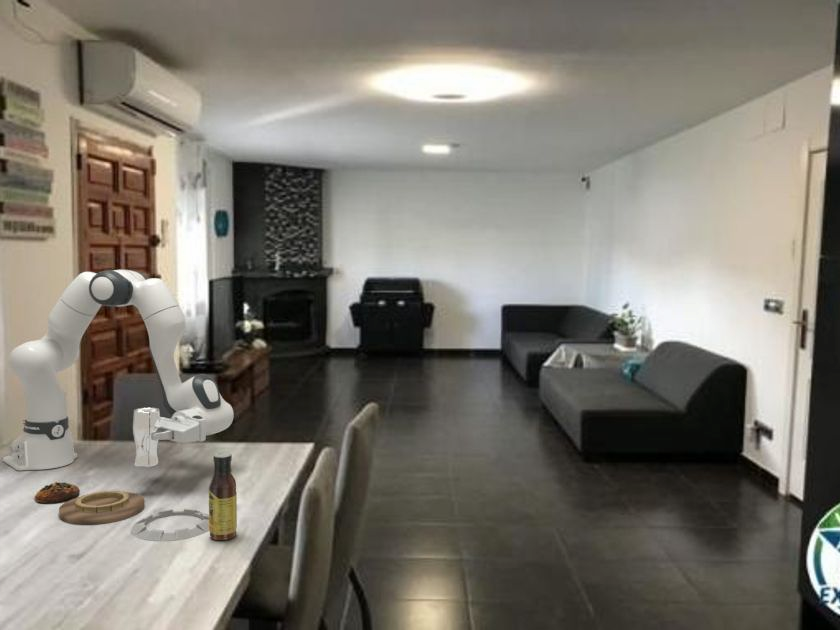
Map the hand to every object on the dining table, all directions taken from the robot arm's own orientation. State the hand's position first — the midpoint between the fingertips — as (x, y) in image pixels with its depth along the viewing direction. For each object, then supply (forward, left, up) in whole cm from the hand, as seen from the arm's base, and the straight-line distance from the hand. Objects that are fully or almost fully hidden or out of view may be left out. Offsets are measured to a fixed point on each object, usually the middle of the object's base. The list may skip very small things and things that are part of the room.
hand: (143, 435), depth 193 cm
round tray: (+2, -14, -17) cm, 21 cm away
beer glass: (0, +1, -8) cm, 9 cm away
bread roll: (-17, -15, -17) cm, 28 cm away
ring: (+25, -10, -17) cm, 32 cm away
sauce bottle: (+40, -8, -17) cm, 44 cm away
